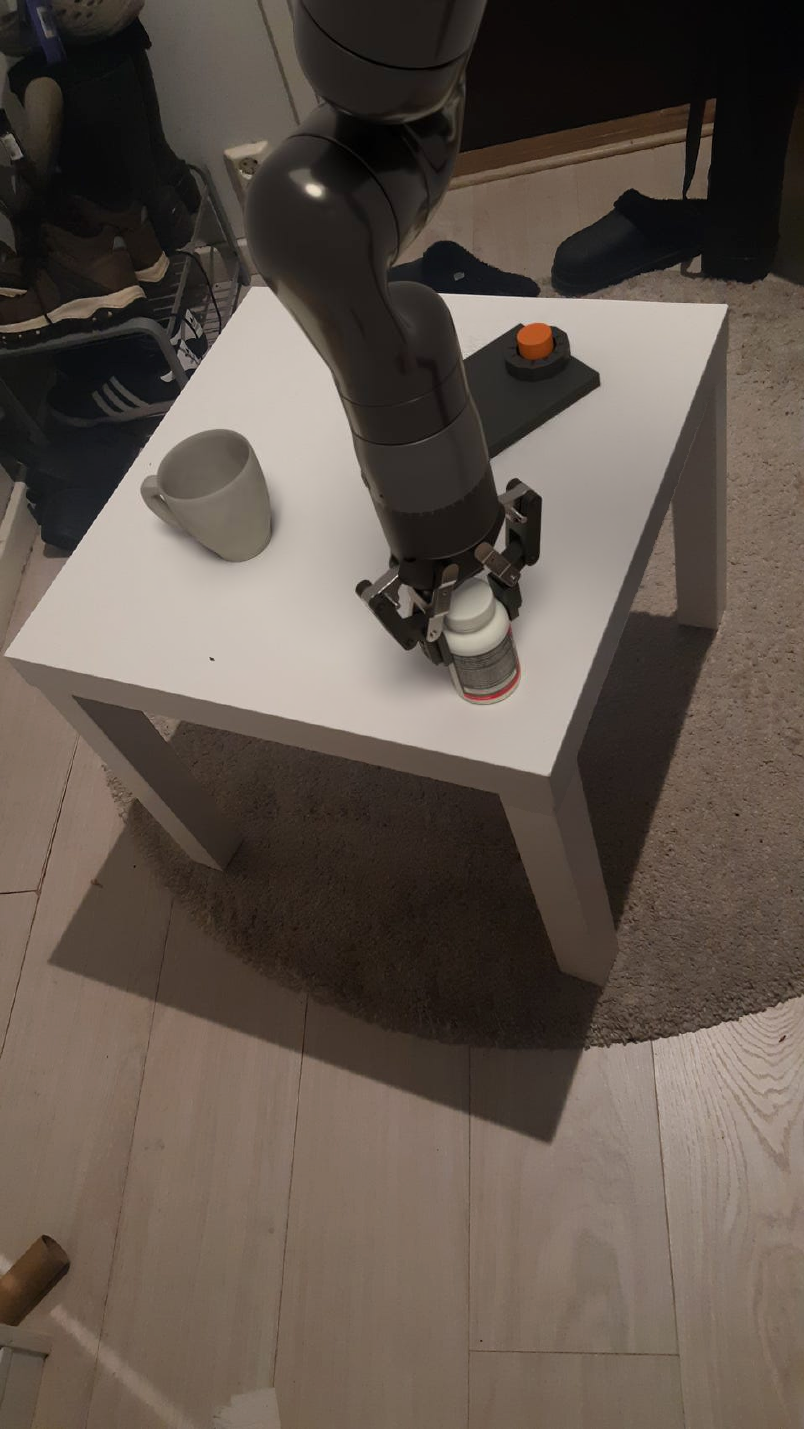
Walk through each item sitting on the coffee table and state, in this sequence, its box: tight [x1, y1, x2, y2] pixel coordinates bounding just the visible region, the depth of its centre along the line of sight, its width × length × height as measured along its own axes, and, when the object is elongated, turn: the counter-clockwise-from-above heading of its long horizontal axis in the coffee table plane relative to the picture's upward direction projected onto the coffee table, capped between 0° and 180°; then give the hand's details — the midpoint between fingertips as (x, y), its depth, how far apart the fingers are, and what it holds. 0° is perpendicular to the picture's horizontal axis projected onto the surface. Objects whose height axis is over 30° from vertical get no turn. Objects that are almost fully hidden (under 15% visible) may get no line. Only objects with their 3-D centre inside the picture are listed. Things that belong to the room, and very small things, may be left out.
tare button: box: [517, 322, 553, 360], centre depth 92 cm, size 3×3×2 cm
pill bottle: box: [442, 576, 522, 705], centre depth 73 cm, size 5×5×10 cm
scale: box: [463, 322, 601, 460], centre depth 93 cm, size 17×12×3 cm
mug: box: [139, 428, 272, 563], centre depth 88 cm, size 12×9×10 cm
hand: (475, 634), depth 72 cm, fingers closed on pill bottle, 5 cm apart
